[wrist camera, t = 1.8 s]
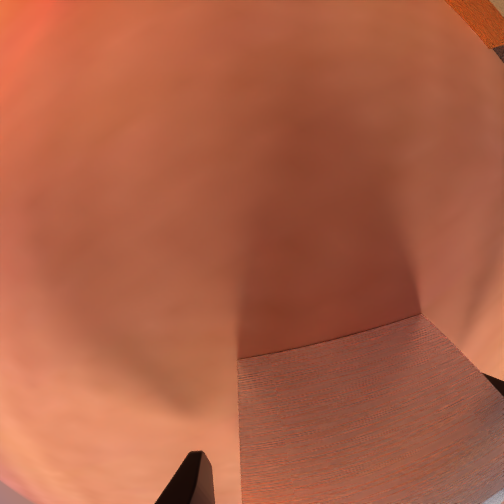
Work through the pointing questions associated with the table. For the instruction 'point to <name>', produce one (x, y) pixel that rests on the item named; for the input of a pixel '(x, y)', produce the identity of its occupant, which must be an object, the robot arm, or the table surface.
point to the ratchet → (484, 20)
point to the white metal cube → (370, 422)
